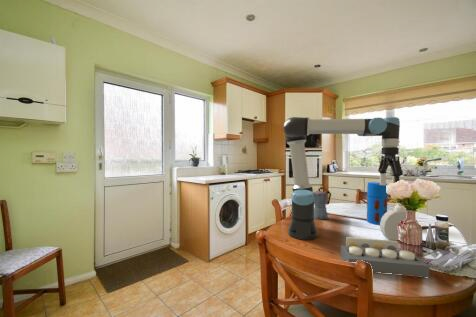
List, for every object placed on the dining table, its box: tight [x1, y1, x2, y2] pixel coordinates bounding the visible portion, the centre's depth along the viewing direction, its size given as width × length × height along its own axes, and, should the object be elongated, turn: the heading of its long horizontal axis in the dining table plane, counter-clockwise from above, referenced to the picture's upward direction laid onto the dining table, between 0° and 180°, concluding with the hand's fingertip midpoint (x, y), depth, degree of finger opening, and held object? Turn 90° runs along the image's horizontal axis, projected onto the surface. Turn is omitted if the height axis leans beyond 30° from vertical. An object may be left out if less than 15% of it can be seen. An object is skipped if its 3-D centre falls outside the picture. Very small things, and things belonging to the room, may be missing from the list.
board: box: [340, 245, 430, 278], centre depth 85 cm, size 26×12×4 cm, turn 78°
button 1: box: [349, 246, 362, 256], centre depth 87 cm, size 5×5×3 cm
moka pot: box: [313, 188, 332, 220], centre depth 149 cm, size 10×15×20 cm, turn 107°
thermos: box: [366, 181, 388, 226], centre depth 138 cm, size 11×11×25 cm
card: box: [345, 236, 399, 250], centre depth 94 cm, size 20×1×7 cm, turn 78°
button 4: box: [399, 249, 415, 261], centre depth 83 cm, size 5×5×3 cm
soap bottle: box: [379, 202, 419, 241], centre depth 112 cm, size 16×5×20 cm, turn 80°
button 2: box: [365, 248, 379, 257], centre depth 86 cm, size 5×5×3 cm
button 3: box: [382, 249, 397, 259], centre depth 84 cm, size 5×5×3 cm
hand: (388, 187), depth 116 cm, fingers open, 13 cm apart
